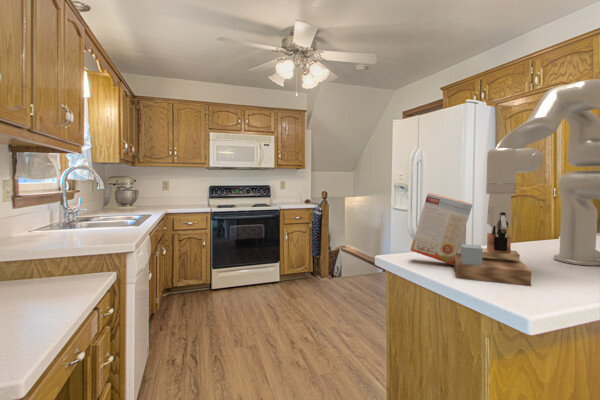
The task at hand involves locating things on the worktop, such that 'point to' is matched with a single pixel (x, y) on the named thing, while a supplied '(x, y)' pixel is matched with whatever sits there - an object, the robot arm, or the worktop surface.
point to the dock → (494, 271)
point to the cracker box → (441, 227)
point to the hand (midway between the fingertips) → (498, 248)
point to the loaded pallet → (500, 255)
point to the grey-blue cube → (471, 254)
